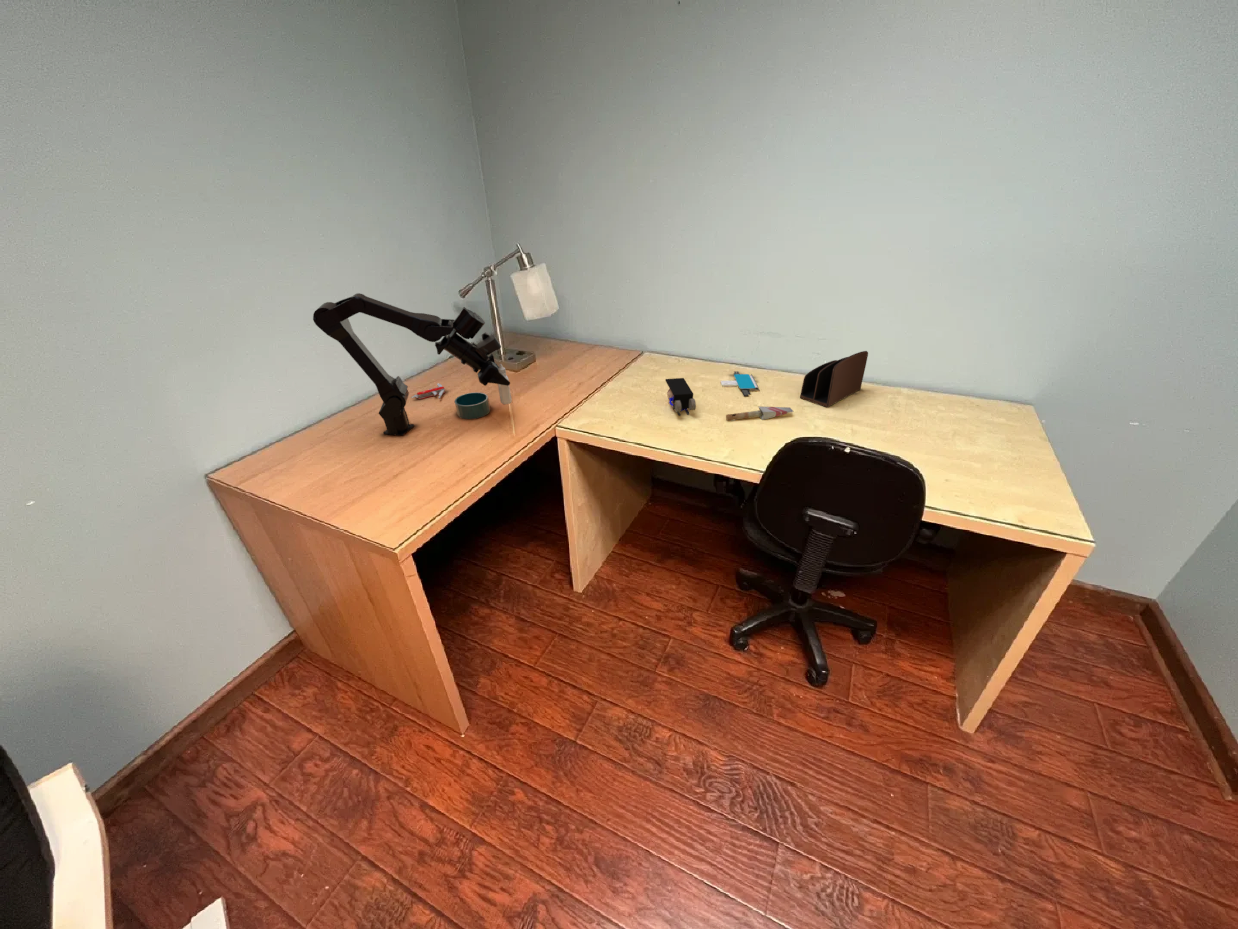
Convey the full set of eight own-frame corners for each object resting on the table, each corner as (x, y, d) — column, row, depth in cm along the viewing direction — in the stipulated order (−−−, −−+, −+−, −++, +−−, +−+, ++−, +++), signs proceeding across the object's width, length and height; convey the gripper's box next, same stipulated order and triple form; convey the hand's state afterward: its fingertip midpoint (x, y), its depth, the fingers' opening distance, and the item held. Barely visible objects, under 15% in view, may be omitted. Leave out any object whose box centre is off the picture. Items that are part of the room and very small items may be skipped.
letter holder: (860, 389, 161) (871, 348, 153) (827, 408, 150) (837, 364, 143) (832, 381, 167) (841, 340, 160) (799, 398, 157) (806, 355, 150)
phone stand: (717, 373, 176) (717, 369, 176) (750, 372, 176) (751, 368, 175) (725, 397, 160) (726, 392, 159) (762, 396, 159) (763, 391, 158)
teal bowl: (481, 420, 151) (479, 407, 149) (451, 418, 153) (448, 404, 151) (495, 405, 159) (493, 393, 157) (466, 404, 161) (464, 391, 159)
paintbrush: (795, 407, 144) (728, 416, 143) (794, 416, 146) (728, 424, 145) (789, 402, 148) (724, 410, 146) (788, 410, 149) (724, 418, 148)
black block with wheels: (696, 420, 149) (682, 395, 161) (698, 399, 144) (684, 375, 156) (675, 423, 148) (662, 397, 160) (676, 401, 144) (663, 377, 155)
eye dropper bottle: (516, 397, 154) (510, 361, 147) (509, 405, 149) (503, 367, 142) (502, 397, 154) (497, 360, 148) (496, 404, 150) (489, 367, 143)
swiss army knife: (417, 407, 160) (415, 402, 159) (407, 393, 170) (405, 388, 169) (451, 398, 165) (450, 393, 164) (440, 385, 175) (438, 380, 174)
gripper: (484, 337, 131) (530, 370, 140) (476, 319, 145) (518, 350, 154) (459, 369, 132) (506, 400, 141) (454, 348, 147) (497, 377, 156)
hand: (507, 380), depth 148 cm, fingers closed on eye dropper bottle, 5 cm apart
